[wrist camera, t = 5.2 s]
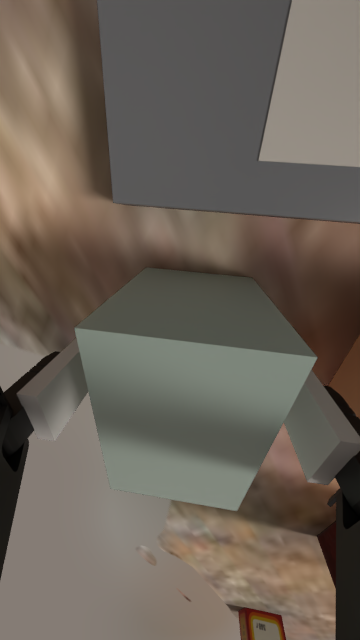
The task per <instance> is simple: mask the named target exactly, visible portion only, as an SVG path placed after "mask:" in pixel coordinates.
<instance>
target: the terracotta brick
mask: <svg viewBox="0 0 360 640" xmlns="http://www.w3.org/2000/svg"><path fill="white" fill-rule="evenodd" d="M328 386H330V387H331V388H333V389H334V390H335V391H336V392H337V393H339V394H340V395H341V396H342V397H343V398H344V400H345V401H346V402H347V404H348V405H349V408H351V409H352V410H353V411H354V413H355V414H356V417H358V418H359V419H360V335H359V337H358V338H357V340H356V341H355V343H354V345H353V346H352V348H351V350H350V351H349V353H348V354H347V356H346V358H345V359H344V361H343V362H342V364H341V366H340V367H339V369H338V371H337V372H336V374H335V375H334V377H333V379H332V380H331V382H330V384H329V385H328Z"/></svg>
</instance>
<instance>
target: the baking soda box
mask: <svg viewBox="0 0 360 640" xmlns="http://www.w3.org/2000/svg"><path fill="white" fill-rule="evenodd" d="M238 612H239V623H240V635H241V640H286V637H285V632H284V627H283V621H282V616H281V615H277V614H273V613H268V612H263V611H259V610H254V609H249V608H243V609H241V610H240V611H238Z"/></svg>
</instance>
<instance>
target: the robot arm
mask: <svg viewBox="0 0 360 640" xmlns="http://www.w3.org/2000/svg"><path fill="white" fill-rule="evenodd" d="M87 393H88V387H87V383H86V378H85V374H84V369H83V365H82V360H81V356H80V351H79V347H78V343H77V338H75V339H74V340H73V341H72V342H71V343H70V344H69V345H68V346H67V347H66V348H65V349H64V350H63V351H61V352H56V351H55V352H53V353H51V354H50V355H48V356H46V357H44V358H43V359H42V360H41V361H40V362H38V363H37V365H36V366H34V367H33V368H32V369H30V371H29V372H27V373H26V374H25V375H24V376H22V377H21V378H20V379H19V380H18V381H17V382H15V383H14V384H13V385H12V386H11V387H10V388H9V389H7V390H6V391H5V392H4V393H3V391H2V389H1V387H0V578H1V574H2V569H3V564H4V560H5V555H6V550H7V546H8V541H9V536H10V531H11V527H12V522H13V518H14V513H15V508H16V503H17V499H18V494H19V489H20V485H21V480H22V475H23V471H24V466H25V461H26V457H27V452H28V447H29V441H28V439H27V438H28V437H29V436H30V434H31V433H32V432H33V431H35V434H36V436H37V438H38V439H43V440H49V441H56V439H57V438H58V436H59V435H60V433H61V431H62V430H63V429H64V427H65V426H66V424H67V423H68V421H69V420H70V418H71V417H72V415H73V414H74V412H75V411H76V409H77V408H78V406H79V405H80V403H81V401H82V400H83V398H84V397H85V396H86V394H87ZM284 424H285V426H286V429H287V431H288V434H289V436H290V439H291V442H292V444H293V447H294V449H295V452H296V454H297V457H298V459H299V462H300V464H301V467H302V469H303V472H304V474H305V477H306V479H307V482H312V483H318V484H324V485H328V484H329V483H330V482H331V481H332V480H333V479H334V478H336V480H337V482H338V484H339V486H340V489H339V490H338V491H337V492H336V493H335V494H334V495H333V496H332V497H331V498H330V499H329V500H328V504H327V505H329V506H330V507H331V506H332V505H333V504H334V503H335V502H336V640H360V419H359V418H358V417H356V414H355V413H354V411H353V410H352V409H351V408H349V405H348V404H347V402H346V401H345V400H344V398H343V397H342V396H341V395H340V394H339V393H337V392H336V391H335V390H334V389H333V388H331V387H330V386H323V385H322V383H321V382H320V381H319V379H318V378H317V377H316V375H315V374H314V372H313V371H312V370H311V371H310V373H309V375H308V377H307V379H306V381H305V383H304V384H303V386H302V388H301V390H300V392H299V394H298V396H297V398H296V400H295V402H294V403H293V405H292V407H291V409H290V411H289V413H288V415H287V417H286V419H285V421H284Z"/></svg>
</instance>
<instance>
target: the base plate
mask: <svg viewBox="0 0 360 640" xmlns="http://www.w3.org/2000/svg"><path fill="white" fill-rule="evenodd" d="M97 6H98V18H99V31H100V43H101V56H102V68H103V81H104V93H105V106H106V118H107V131H108V144H109V156H110V169H111V181H112V194H113V203H117V204H123V205H132V206H144V207H157V208H169V209H182V210H194V211H207V212H219V213H232V214H244V215H257V216H269V217H282V218H294V219H307V220H319V221H332V222H345V223H357V224H360V0H97Z"/></svg>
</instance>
